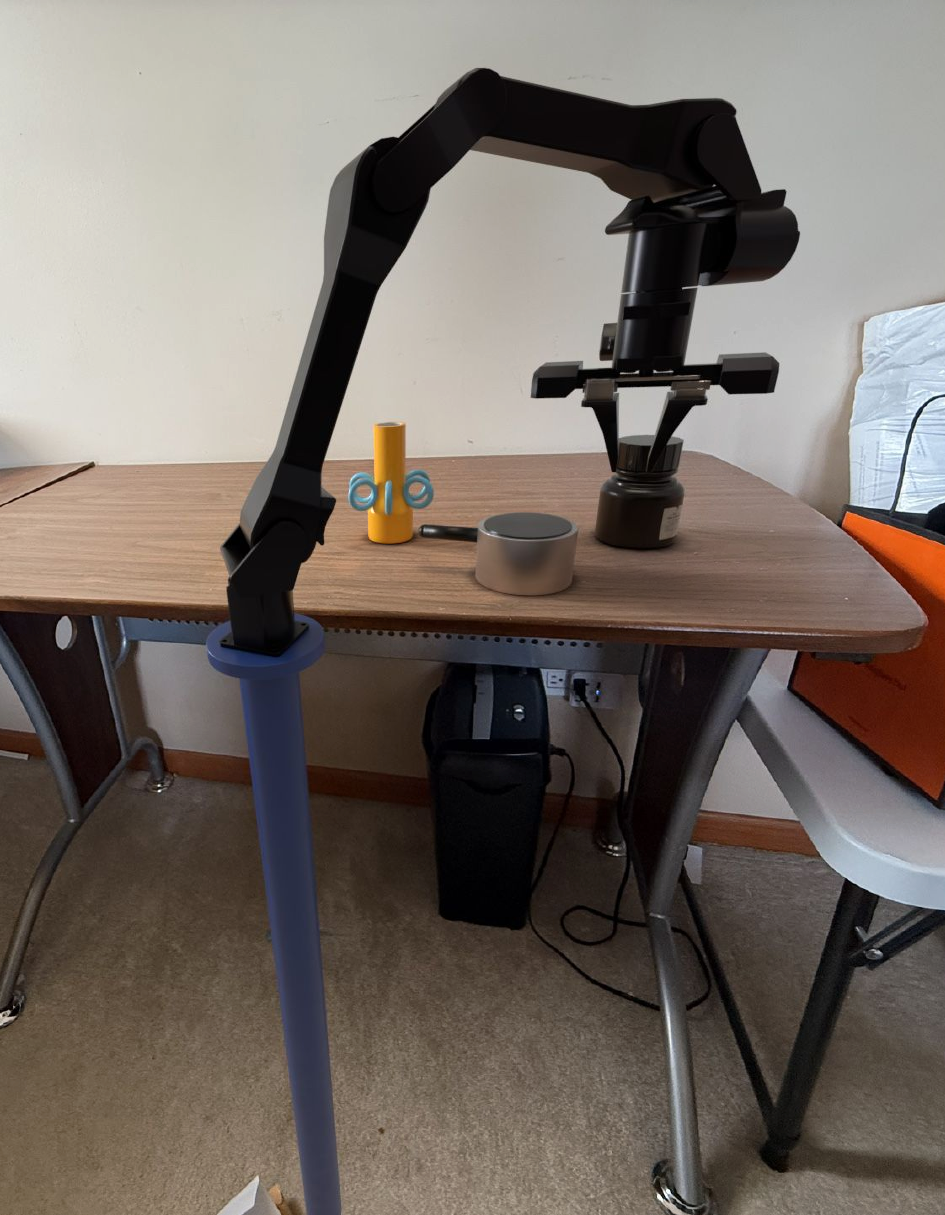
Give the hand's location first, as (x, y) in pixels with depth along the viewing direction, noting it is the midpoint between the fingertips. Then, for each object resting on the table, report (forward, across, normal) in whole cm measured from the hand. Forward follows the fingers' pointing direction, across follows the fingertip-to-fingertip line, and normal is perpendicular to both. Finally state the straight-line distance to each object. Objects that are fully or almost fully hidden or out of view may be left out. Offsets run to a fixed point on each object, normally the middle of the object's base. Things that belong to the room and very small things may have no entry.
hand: (631, 471), depth 60 cm
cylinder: (+12, +28, -10) cm, 32 cm away
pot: (+12, +12, 0) cm, 17 cm away
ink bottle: (+12, -2, -16) cm, 21 cm away
